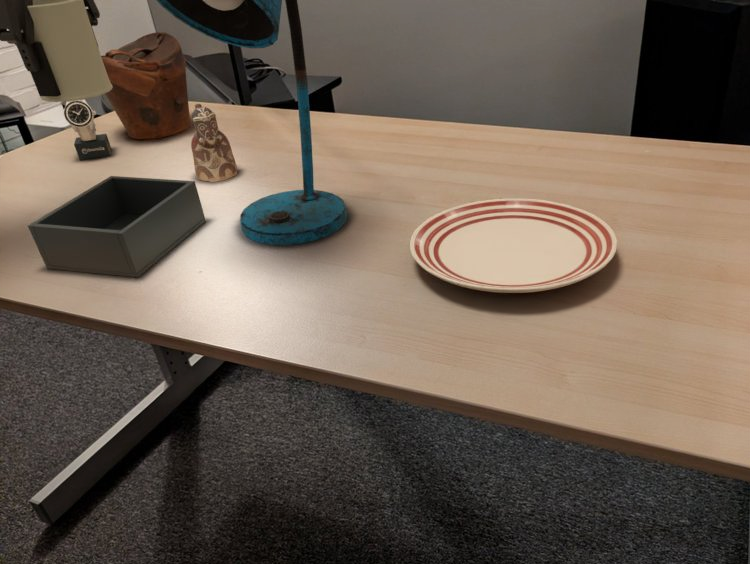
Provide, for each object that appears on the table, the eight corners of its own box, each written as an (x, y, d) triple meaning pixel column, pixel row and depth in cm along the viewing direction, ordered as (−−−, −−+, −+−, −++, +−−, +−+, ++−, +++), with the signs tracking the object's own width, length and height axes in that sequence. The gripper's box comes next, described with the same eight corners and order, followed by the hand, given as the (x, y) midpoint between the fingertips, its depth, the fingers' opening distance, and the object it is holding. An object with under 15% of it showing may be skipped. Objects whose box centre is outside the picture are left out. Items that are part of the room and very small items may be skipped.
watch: (79, 163, 125) (56, 105, 118) (82, 150, 131) (61, 94, 124) (110, 159, 126) (90, 101, 120) (112, 146, 132) (93, 90, 126)
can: (119, 81, 95) (89, -12, 88) (104, 98, 87) (70, -2, 80) (52, 87, 94) (16, -7, 87) (31, 105, 86) (-10, 4, 79)
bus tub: (46, 268, 91) (27, 225, 87) (124, 214, 105) (110, 175, 101) (138, 277, 88) (122, 233, 84) (206, 221, 102) (194, 180, 98)
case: (103, 150, 130) (70, 55, 120) (123, 120, 146) (95, 34, 136) (196, 141, 133) (171, 47, 122) (205, 113, 149) (184, 27, 138)
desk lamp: (196, 250, 94) (82, -136, 67) (285, 192, 110) (220, -138, 83) (290, 269, 88) (205, -143, 62) (368, 204, 104) (327, -144, 78)
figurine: (198, 184, 114) (179, 115, 107) (195, 170, 119) (177, 104, 112) (239, 177, 116) (223, 109, 109) (235, 164, 121) (219, 98, 114)
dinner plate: (385, 236, 95) (383, 215, 93) (550, 201, 103) (552, 181, 101) (456, 335, 74) (456, 310, 72) (657, 282, 82) (661, 259, 80)
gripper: (-46, -111, 68) (42, 109, 81) (89, -117, 85) (144, 66, 98) (-105, -108, 69) (-9, 108, 82) (40, -114, 86) (100, 66, 99)
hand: (74, 85), depth 90 cm, fingers closed on can, 9 cm apart
